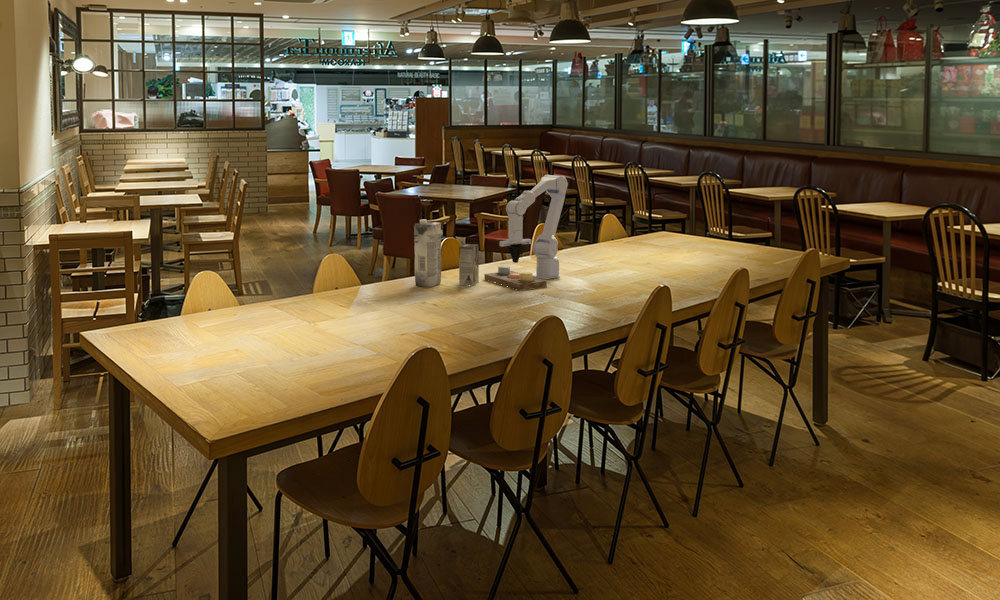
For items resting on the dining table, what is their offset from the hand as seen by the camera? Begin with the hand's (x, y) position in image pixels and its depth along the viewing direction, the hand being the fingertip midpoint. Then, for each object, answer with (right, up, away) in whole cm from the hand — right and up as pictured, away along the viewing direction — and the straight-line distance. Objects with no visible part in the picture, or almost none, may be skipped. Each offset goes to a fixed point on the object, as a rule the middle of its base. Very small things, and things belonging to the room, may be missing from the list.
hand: (515, 262), depth 366 cm
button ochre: (+4, -8, -6) cm, 11 cm away
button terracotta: (0, -8, +2) cm, 8 cm away
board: (0, -9, +2) cm, 9 cm away
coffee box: (-19, -9, 0) cm, 21 cm away
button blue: (-5, -5, +8) cm, 11 cm away
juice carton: (-36, -10, -3) cm, 37 cm away
